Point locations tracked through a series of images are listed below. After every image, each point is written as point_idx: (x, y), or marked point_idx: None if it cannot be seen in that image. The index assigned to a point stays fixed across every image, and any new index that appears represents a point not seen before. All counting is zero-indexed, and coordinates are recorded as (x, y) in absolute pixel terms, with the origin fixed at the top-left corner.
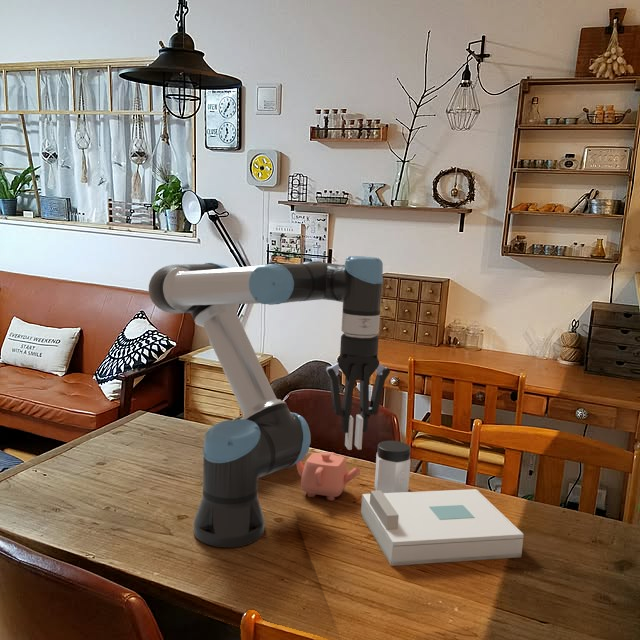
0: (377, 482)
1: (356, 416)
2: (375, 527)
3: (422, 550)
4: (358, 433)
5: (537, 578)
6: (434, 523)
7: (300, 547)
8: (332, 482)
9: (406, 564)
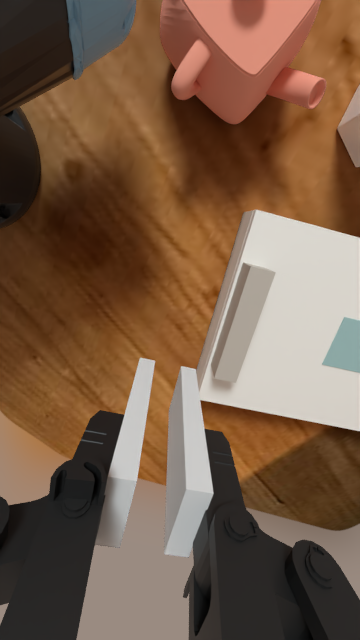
0: (357, 113)
1: (183, 482)
2: (219, 309)
3: None
4: (168, 457)
5: (346, 451)
6: (303, 372)
7: (84, 288)
8: (225, 104)
9: None
